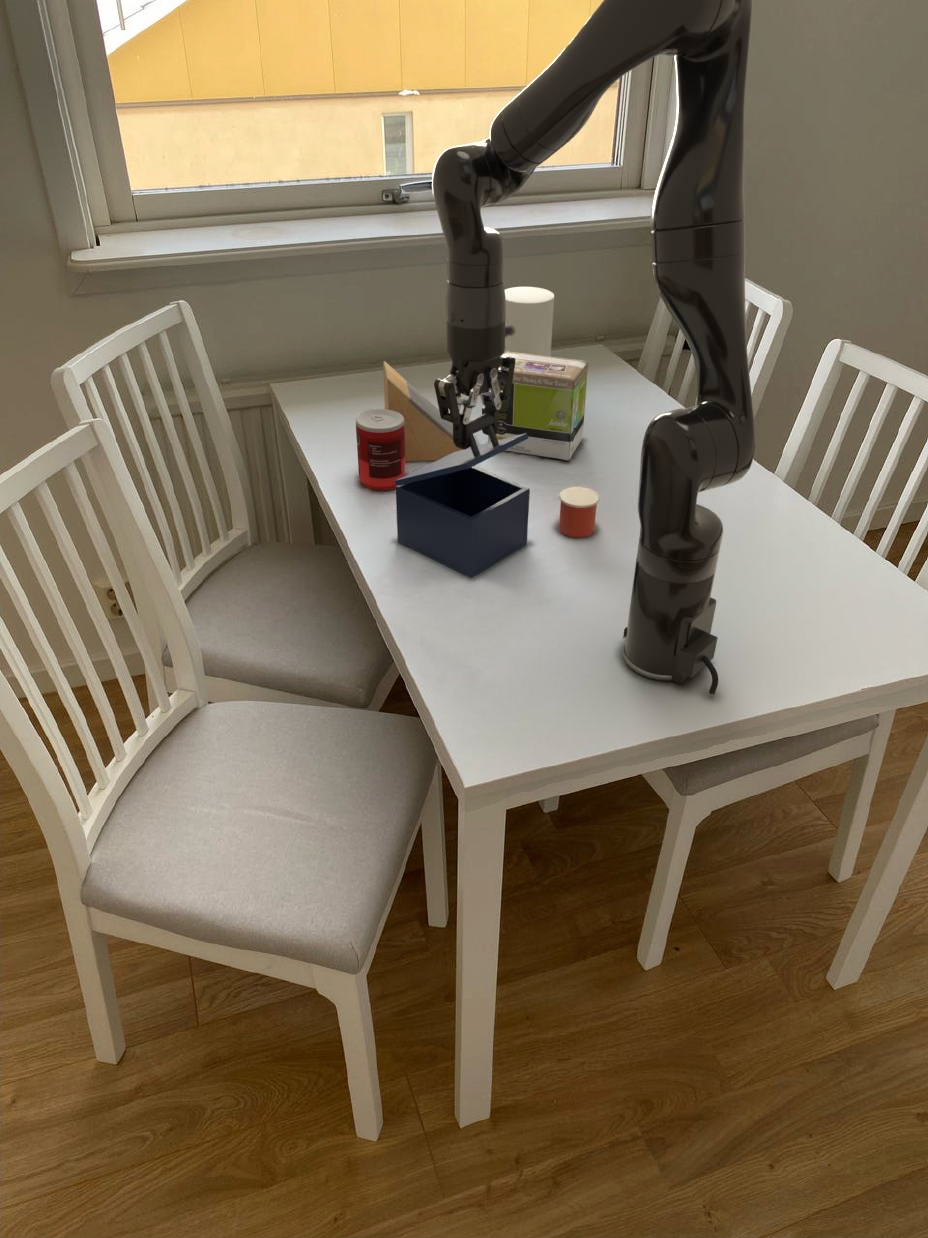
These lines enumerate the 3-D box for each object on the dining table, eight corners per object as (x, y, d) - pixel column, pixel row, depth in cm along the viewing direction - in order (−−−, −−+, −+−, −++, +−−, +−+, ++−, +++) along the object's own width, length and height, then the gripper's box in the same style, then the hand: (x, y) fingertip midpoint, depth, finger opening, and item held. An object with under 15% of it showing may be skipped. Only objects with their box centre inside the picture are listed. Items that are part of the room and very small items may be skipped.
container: (488, 391, 190) (490, 289, 179) (532, 384, 194) (538, 282, 182) (511, 410, 183) (515, 304, 171) (557, 402, 186) (564, 298, 175)
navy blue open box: (527, 544, 143) (530, 488, 138) (471, 578, 136) (471, 520, 130) (454, 511, 151) (454, 457, 146) (397, 542, 143) (395, 486, 138)
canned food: (381, 465, 164) (378, 404, 157) (416, 479, 160) (414, 417, 153) (348, 481, 159) (344, 419, 153) (384, 496, 155) (381, 433, 148)
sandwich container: (478, 457, 166) (480, 374, 158) (390, 463, 165) (387, 379, 156) (471, 436, 173) (472, 355, 165) (386, 441, 171) (382, 359, 163)
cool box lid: (528, 438, 134) (515, 400, 132) (468, 468, 126) (454, 429, 125) (455, 457, 146) (442, 423, 144) (396, 486, 138) (382, 450, 136)
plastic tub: (603, 528, 147) (607, 495, 144) (580, 542, 144) (583, 509, 140) (572, 515, 151) (575, 482, 147) (549, 529, 147) (551, 496, 144)
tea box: (583, 439, 173) (590, 359, 164) (568, 462, 165) (575, 380, 157) (503, 426, 177) (506, 348, 168) (485, 449, 169) (487, 367, 161)
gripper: (460, 336, 116) (461, 466, 126) (534, 309, 125) (530, 431, 134) (415, 324, 120) (420, 450, 130) (490, 298, 129) (489, 418, 138)
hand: (476, 440), depth 132 cm, fingers closed on cool box lid, 5 cm apart
